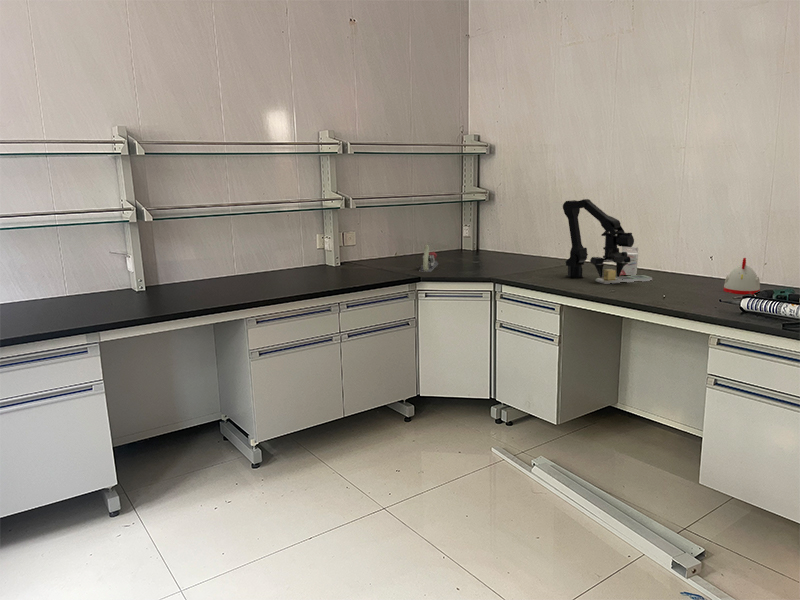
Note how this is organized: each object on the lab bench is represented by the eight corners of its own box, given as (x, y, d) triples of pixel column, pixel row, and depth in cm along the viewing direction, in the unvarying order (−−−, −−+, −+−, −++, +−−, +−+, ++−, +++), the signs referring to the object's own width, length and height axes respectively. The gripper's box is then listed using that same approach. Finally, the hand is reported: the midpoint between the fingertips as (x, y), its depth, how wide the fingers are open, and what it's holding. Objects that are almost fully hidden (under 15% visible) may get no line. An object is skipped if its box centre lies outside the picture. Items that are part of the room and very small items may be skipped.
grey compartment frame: (604, 283, 286) (604, 280, 286) (595, 281, 294) (595, 277, 294) (652, 280, 292) (652, 277, 291) (642, 278, 299) (642, 274, 299)
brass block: (607, 283, 289) (608, 270, 288) (603, 281, 293) (604, 269, 291) (615, 282, 290) (615, 270, 288) (610, 281, 294) (611, 269, 292)
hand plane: (418, 272, 334) (418, 246, 331) (427, 264, 364) (427, 239, 361) (430, 272, 333) (430, 246, 330) (438, 264, 362) (438, 239, 359)
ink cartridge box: (617, 275, 309) (619, 247, 306) (619, 274, 313) (621, 246, 310) (634, 276, 304) (636, 248, 301) (636, 275, 308) (638, 247, 305)
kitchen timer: (721, 292, 261) (725, 259, 257) (725, 287, 272) (728, 255, 269) (758, 295, 253) (762, 261, 250) (760, 290, 264) (764, 257, 261)
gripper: (602, 248, 278) (601, 281, 281) (638, 246, 282) (636, 278, 285) (590, 245, 288) (589, 277, 292) (624, 244, 292) (622, 275, 296)
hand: (609, 277), depth 291 cm, fingers open, 9 cm apart
